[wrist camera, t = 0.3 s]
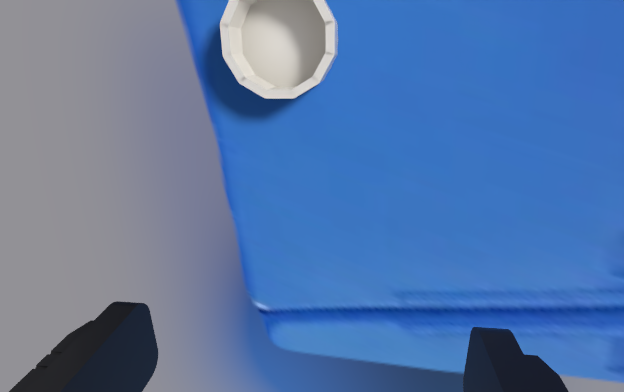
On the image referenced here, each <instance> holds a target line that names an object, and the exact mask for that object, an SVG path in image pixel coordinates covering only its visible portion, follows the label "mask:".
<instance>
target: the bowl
mask: <svg viewBox="0 0 624 392" xmlns="http://www.w3.org/2000/svg"><path fill="white" fill-rule="evenodd" d="M220 33H221V44H222V55H223V58H224V60H225V61H226V63H227V64H228V66H229V68H230V69H231V71H232V73H233V74H234V76H235V77H236V79H237V81H238V82H239V84H241V85H243V86H244V87H246V88H248V89H249V90H251V91H253V92H255V93H256V94H258V95H260V96H261V97H263V98H265V99H294V98H296V97H297V96H299V95H301V94H302V93H304V92H306V91H307V90H309V89H310V88H312V87H314V86H315V85H317V84H319V83H320V82H322V81H323V80H324V78H325V77H326V75H327V73H328V71H329V70H330V68H331V66H332V64H333V62H334V60H335V58H336V56H337V47H338V23H337V22H336V20H335V18H334V16H333V14H332V12H331V10H330V8H329V6H328V4H327V2H326V1H325V0H229V2H228V5H227V7H226V9H225V12H224V14H223V17H222V19H221V22H220Z"/></svg>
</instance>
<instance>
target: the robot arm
mask: <svg viewBox="0 0 624 392" xmlns="http://www.w3.org/2000/svg"><path fill="white" fill-rule="evenodd" d="M157 360H158V348H157V343H156V339H155V334H154V330H153V325H152V320H151V315H150V311H149V308H148V306H147V305H146V304H144V303H131V302H113V303H112V304H110V305H109V306H108V307H107V308H106V309H105V310H104V311H103V312H102V313H101V314H100V315H99V316H98V317H97V318H96V319H95V320H94V321H90V322H88V323H86V324H85V325H83V326H82V327H80V328H78V329H76V330H75V331H73V332H72V333H70V334H69V335H67V336H66V337H65V338H64V339H63V340H62V341H61V342H60V343H59V344H58V345H57V346H56V347H55V348H54V349H53V350H52V351H51V354H50V355H47V356H46V357H44V358H43V359H42V360H41V361H40V362H39V363H38V364H37V365H36V369H32V370H31V371H30V372H29V373H28V374H27V375H26V376H25V377H24V378H23V379H22V380H21V381H20V382H18V384H16V386H14V387H13V388H12V389H11V390H10V391H9V392H142V391H143V389H144V388H145V386H146V385H147V383H148V382H149V380H150V378H151V377H152V375H153V373H154V371H155V368H156V365H157ZM463 391H464V392H568V390H567V388H566V387H565V385H564V383H563V381H562V380H561V378H560V376H559V375H558V374H557V373H556V372H555V371H553V370H552V369H551V368H550V367H549V366H548V365H547V364H546V363H545V362H544V361H543V360H542V359H540V358H539V357H538V356H535V355H524V354H523V352H522V351H521V349H520V347H519V345H518V343H517V341H516V339H515V337H514V335H513V333H512V332H511V331H510V330H508V329H497V328H482V327H473V329H472V331H471V335H470V341H469V347H468V353H467V359H466V365H465V371H464V378H463Z"/></svg>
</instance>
